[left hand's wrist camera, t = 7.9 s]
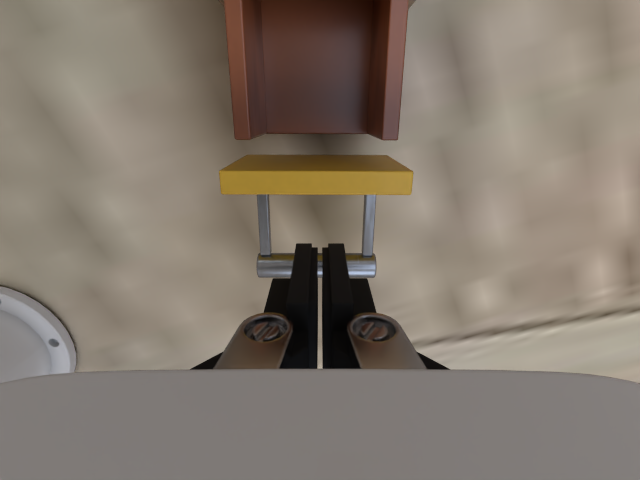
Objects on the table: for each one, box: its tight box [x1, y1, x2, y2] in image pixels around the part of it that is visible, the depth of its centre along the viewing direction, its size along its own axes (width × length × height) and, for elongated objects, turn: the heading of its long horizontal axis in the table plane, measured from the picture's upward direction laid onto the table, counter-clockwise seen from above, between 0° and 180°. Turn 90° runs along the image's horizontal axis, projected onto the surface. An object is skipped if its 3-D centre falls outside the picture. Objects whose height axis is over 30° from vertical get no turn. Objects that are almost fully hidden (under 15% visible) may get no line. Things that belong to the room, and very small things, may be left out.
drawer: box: [219, 0, 413, 278], centre depth 18 cm, size 24×10×7 cm, turn 0°
